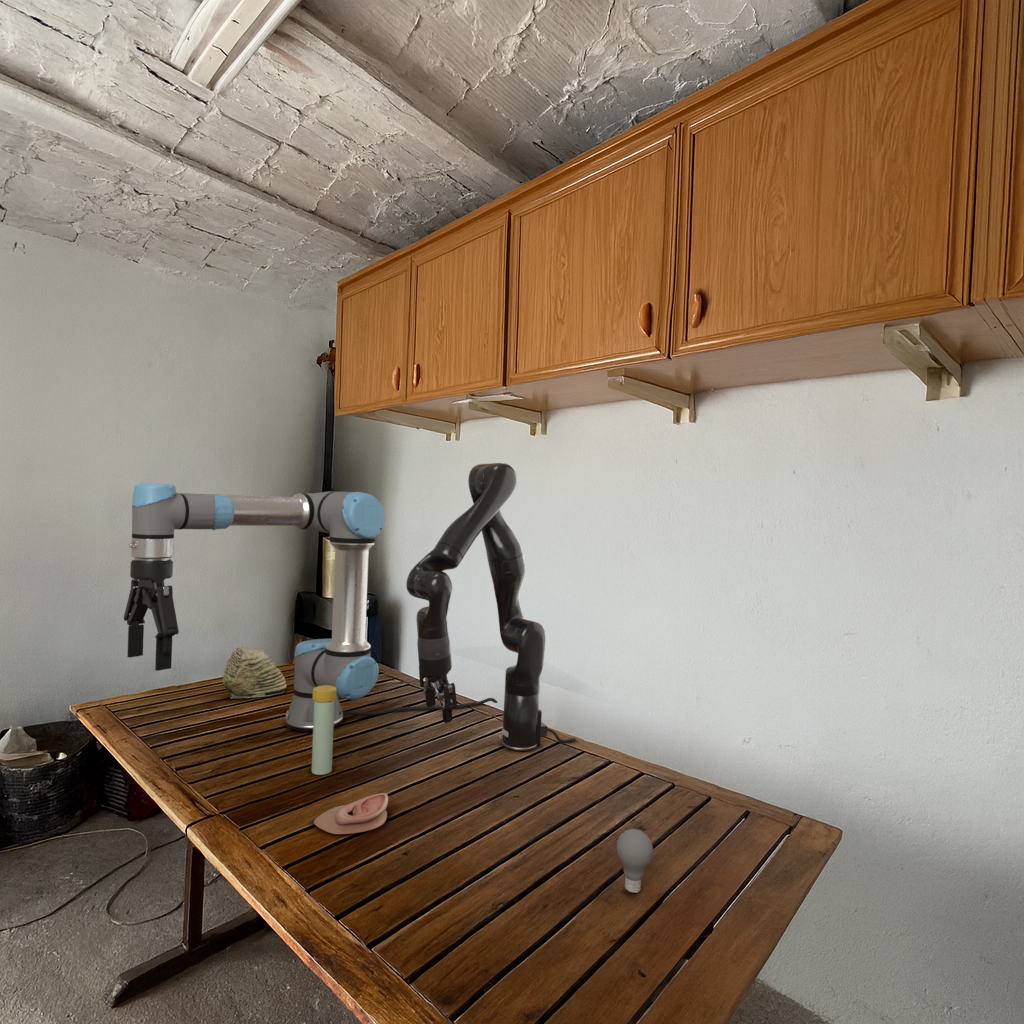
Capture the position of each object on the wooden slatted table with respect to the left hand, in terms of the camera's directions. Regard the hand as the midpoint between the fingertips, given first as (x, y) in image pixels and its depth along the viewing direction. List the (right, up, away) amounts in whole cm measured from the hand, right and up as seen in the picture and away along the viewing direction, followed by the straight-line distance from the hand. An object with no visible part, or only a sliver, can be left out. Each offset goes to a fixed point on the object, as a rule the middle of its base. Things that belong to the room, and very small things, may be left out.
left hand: (148, 662), depth 129 cm
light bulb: (+94, -33, -24) cm, 103 cm away
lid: (+31, -10, +17) cm, 37 cm away
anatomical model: (+43, -30, -5) cm, 52 cm away
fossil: (-6, -27, +69) cm, 74 cm away
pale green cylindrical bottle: (+30, -29, +17) cm, 45 cm away
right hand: (+57, -17, +21) cm, 63 cm away
